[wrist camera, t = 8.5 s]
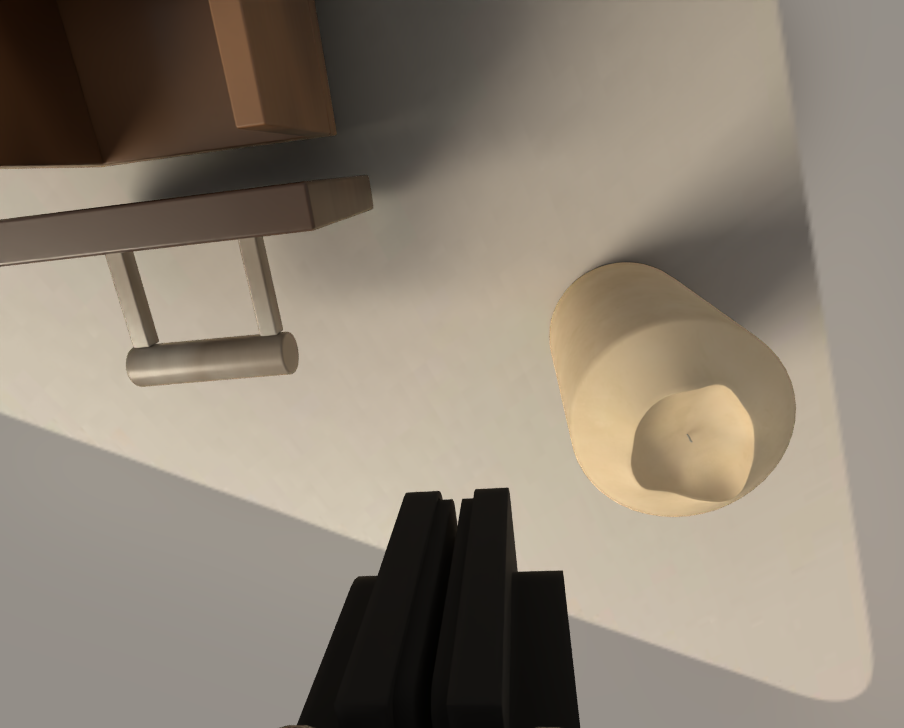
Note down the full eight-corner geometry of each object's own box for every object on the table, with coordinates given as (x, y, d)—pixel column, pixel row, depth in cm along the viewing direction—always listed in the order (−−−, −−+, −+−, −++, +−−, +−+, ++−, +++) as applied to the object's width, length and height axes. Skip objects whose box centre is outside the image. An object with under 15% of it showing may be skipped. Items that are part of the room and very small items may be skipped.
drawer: (393, 333, 23) (347, 402, 16) (141, 356, 24) (6, 428, 17) (299, -274, 17) (168, -546, 10) (-27, -200, 18) (-324, -401, 12)
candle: (718, 351, 23) (866, 487, 13) (592, 419, 24) (646, 585, 15) (650, 231, 21) (761, 287, 12) (521, 310, 23) (531, 415, 13)
